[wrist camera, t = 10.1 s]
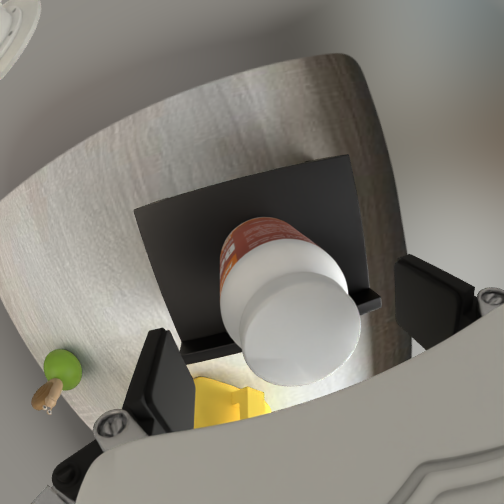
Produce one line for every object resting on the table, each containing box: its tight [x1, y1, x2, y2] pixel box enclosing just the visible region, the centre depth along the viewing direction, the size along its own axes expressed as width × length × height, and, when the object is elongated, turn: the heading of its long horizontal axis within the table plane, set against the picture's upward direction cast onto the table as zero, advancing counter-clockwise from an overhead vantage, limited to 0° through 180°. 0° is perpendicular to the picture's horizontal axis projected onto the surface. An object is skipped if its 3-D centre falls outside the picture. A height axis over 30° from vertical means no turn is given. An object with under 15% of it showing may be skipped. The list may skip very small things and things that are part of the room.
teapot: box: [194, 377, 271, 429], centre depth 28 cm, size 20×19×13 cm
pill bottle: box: [220, 217, 361, 386], centre depth 15 cm, size 6×6×11 cm
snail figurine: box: [31, 349, 82, 415], centre depth 24 cm, size 5×6×12 cm
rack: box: [134, 154, 381, 365], centre depth 23 cm, size 12×16×10 cm
